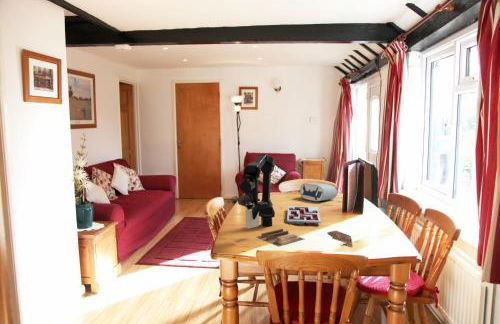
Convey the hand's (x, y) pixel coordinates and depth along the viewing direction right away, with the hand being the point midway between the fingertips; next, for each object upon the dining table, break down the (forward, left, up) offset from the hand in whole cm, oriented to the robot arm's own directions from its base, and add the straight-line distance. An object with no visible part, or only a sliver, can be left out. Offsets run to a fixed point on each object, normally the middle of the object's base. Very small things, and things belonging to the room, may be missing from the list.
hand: (252, 218), depth 184 cm
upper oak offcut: (+15, +10, -9) cm, 20 cm away
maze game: (-14, +51, -12) cm, 54 cm away
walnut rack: (+9, +11, -11) cm, 18 cm away
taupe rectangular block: (0, 0, -4) cm, 4 cm away
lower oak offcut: (+15, +11, -10) cm, 21 cm away
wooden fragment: (+27, +38, -12) cm, 48 cm away
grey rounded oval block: (-44, +98, -11) cm, 108 cm away
